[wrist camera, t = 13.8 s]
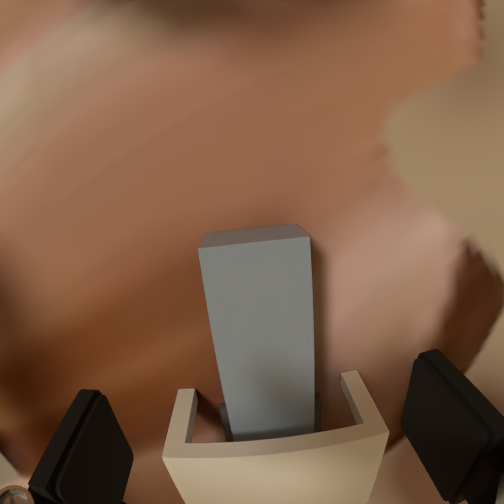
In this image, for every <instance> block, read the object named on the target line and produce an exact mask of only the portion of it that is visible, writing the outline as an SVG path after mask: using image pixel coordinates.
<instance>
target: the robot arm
mask: <svg viewBox="0 0 504 504" xmlns="http://www.w3.org/2000/svg"><path fill="white" fill-rule="evenodd" d="M401 427H402V429H403V431H404V433H405V435H406V436H407V438H408V440H409V441H410V443H411V445H412V446H413V448H414V450H415V451H416V453H417V455H418V456H419V458H420V460H421V462H422V463H423V465H424V467H425V469H426V470H427V472H428V474H429V476H430V477H431V479H432V481H433V483H434V484H435V486H436V488H437V490H438V491H439V493H440V495H441V497H442V498H443V500H445V501H449V503H450V504H458V503H460V502H462V501H464V500H466V501H467V502H468V504H504V417H503V416H502V414H501V413H500V412H499V411H498V410H497V409H496V408H495V407H494V406H493V405H492V404H491V403H490V402H489V400H488V399H487V398H486V397H484V395H483V394H482V393H481V392H480V391H479V390H478V389H477V388H476V387H475V386H474V385H473V384H472V383H471V382H470V381H469V380H468V379H467V378H466V377H465V376H464V375H463V374H462V373H461V372H460V371H459V370H458V369H457V368H456V367H455V366H454V365H453V364H452V363H451V362H450V361H449V360H448V359H447V358H446V357H445V356H444V355H443V354H442V353H441V352H440V351H439V350H438V349H433V350H430V351H426V352H423V353H420V354H419V355H418V358H417V359H415V361H414V363H413V368H412V373H411V378H410V383H409V388H408V392H407V397H406V401H405V405H404V409H403V413H402V417H401ZM132 463H133V452H132V450H131V448H130V446H129V444H128V442H127V440H126V438H125V436H124V434H123V432H122V430H121V428H120V426H119V424H118V422H117V419H116V417H115V415H114V413H113V411H112V409H111V406H110V404H109V402H108V399H107V398H106V396H105V395H102V394H101V392H100V391H98V390H86V389H82V390H80V391H79V393H78V394H77V396H76V398H75V399H74V401H73V403H72V404H71V406H70V408H69V409H68V411H67V413H66V415H65V416H64V418H63V420H62V421H61V423H60V425H59V427H58V428H57V430H56V432H55V434H54V436H53V437H52V439H51V441H50V443H49V445H48V446H47V448H46V450H45V452H44V454H43V456H42V457H41V459H40V461H39V463H38V465H37V467H36V469H35V471H34V473H33V475H32V477H31V479H30V481H29V482H28V485H29V488H28V490H27V489H26V488H24V487H22V486H18V485H10V486H6V487H4V488H2V489H1V490H0V504H122V500H123V496H124V493H125V489H126V485H127V481H128V478H129V474H130V471H131V467H132Z"/></svg>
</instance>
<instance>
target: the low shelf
mask: <svg viewBox="0 0 504 504" xmlns="http://www.w3.org/2000/svg"><path fill="white" fill-rule="evenodd" d="M340 386H341V388H342V391H343V393H344V395H345V398H346V400H347V402H348V405H349V407H350V409H351V412H352V414H353V416H354V419H355V421H356V424H357V425H354V426H350V427H345V428H340V429H335V430H329V431H324V432H320V419H321V396H320V393H316V394H314V433H312V434H305V435H299V436H291V437H284V438H275V439H266V440H255V441H242V442H234V440H233V436H232V431H231V427H230V422H229V417H228V413H227V408H226V403H224V404H220V414H221V418H222V422H223V427H224V431H225V435H226V439H227V442H224V443H191V441H192V435H193V428H194V422H195V416H196V410H197V404H198V399H197V395H196V391H195V389H178V393H177V397H176V401H175V405H174V409H173V413H172V417H171V421H170V425H169V429H168V433H167V437H166V441H165V445H164V450H163V454H162V459H163V461H164V463H165V465H166V467H167V469H168V472H169V474H170V476H171V478H172V480H173V481H174V483H175V485H176V487H177V489H178V491H179V493H180V495H181V497H182V499H183V500H184V502H185V504H367V503H368V500H369V497H370V495H371V492H372V489H373V486H374V483H375V480H376V477H377V473H378V471H379V467H380V464H381V461H382V457H383V454H384V450H385V447H386V443H387V440H388V436H389V430H388V428H387V426H386V424H385V422H384V420H383V418H382V416H381V414H380V413H379V411H378V409H377V407H376V405H375V403H374V401H373V399H372V397H371V396H370V394H369V392H368V390H367V388H366V386H365V384H364V382H363V381H362V379H361V377H360V375H359V373H358V371H357V370H353V371H348V372H342V373H341V380H340Z"/></svg>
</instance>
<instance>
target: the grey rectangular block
mask: <svg viewBox="0 0 504 504" xmlns="http://www.w3.org/2000/svg"><path fill="white" fill-rule="evenodd" d="M198 252H199V258H200V265H201V272H202V278H203V284H204V290H205V297H206V303H207V309H208V314H209V320H210V326H211V331H212V337H213V342H214V348H215V353H216V359H217V364H218V369H219V374H220V379H221V384H222V389H223V394H224V399H225V403H226V408H227V413H228V417H229V422H230V427H231V431H232V436H233V440H234V442H242V441H255V440H266V439H275V438H284V437H291V436H299V435H305V434H312V433H314V318H313V290H312V268H311V250H310V236H309V235H308V234H307V233H306V232H305V231H304V230H303V229H302V228H301V227H300V226H299V225H297V224H290V225H280V226H270V227H261V228H251V229H242V230H233V231H224V232H215V233H207V234H206V235H205V237H204V239H203V240H202V242H201V244H200V246H199V248H198Z"/></svg>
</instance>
